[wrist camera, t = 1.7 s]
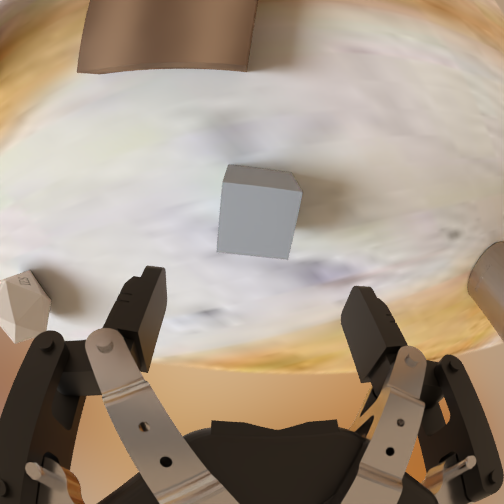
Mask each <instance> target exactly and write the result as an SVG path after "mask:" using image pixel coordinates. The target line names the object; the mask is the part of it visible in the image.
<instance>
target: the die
mask: <svg viewBox="0 0 504 504" xmlns="http://www.w3.org/2000/svg"><path fill="white" fill-rule="evenodd" d="M50 306H51V300H50V298H49V297H48V296H47V294H46V293H45V291H44V290H43V289H42V287H41V286H40V284H39V283H38V281H37V280H36V278H35V277H34V275H33V274H32V272H31V271H30V270H29V271H26V272H23V273H20V274H17V275H14V276H11V277H8V278H6V279H3V280H0V326H1V328H2V329H3V330H4V331H5V332H6V334H7V335H8V336H9V337H10V338H11V340H13V342H14V343H15V344H16V343H19V342H22V341H25V340H28V339H32V338H35V337H36V336H37V335H39V334H40V333H42V332H45V331H46V330H47V324H48V317H49V312H50Z"/></svg>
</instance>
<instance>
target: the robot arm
mask: <svg viewBox="0 0 504 504" xmlns="http://www.w3.org/2000/svg"><path fill="white" fill-rule="evenodd" d="M468 292H469V295H470V296H471V297H472V298H473V300H474V301H475V302H476V304H477V305H478V306H479V308H480V309H481V310H482V312H483V313H484V314H485V316H486V317H487V318H488V320H489V321H490V323H491V324H492V325H493V327H494V328H495V330H496V331H497V333H498V334H499V336H500V337H501V339H502V340H503V342H504V242H498V243H496V244H494V245H492V246H491V247H490V248H488V249H487V250H486V251H485V252H484V254H483V255H482V256H481V257H480V259H479V260H478V262H477V263H476V265H475V267H474V268H473V271H472V273H471V275H470V278H469V282H468ZM166 306H167V289H166V272H165V268H163V267H154V266H146V268H145V269H144V271H143V273H142V276H141V277H136V276H133V277H132V278H131V279H130V280H128V281H127V282H126V283H125V284H124V286H123V288H122V290H121V292H120V294H119V296H118V298H117V301H116V302H115V304H114V306H113V308H112V310H111V312H110V314H109V316H108V318H107V320H106V322H105V324H104V326H103V328H101V329H98V330H96V331H94V332H92V333H91V334H90V335H89V336H88V338H87V339H86V340H79V341H64V339H63V337H62V335H61V334H60V333H58V332H56V331H45V332H42V333H40V334H39V335H37V336H36V337H35V339H34V340H33V342H32V344H31V346H30V348H29V350H28V352H27V354H26V356H25V358H24V360H23V363H22V365H21V367H20V369H19V371H18V373H17V376H16V378H15V380H14V383H13V385H12V388H11V390H10V393H9V395H8V398H7V401H6V404H5V406H4V409H3V412H2V415H1V418H0V504H85V503H84V501H83V499H82V496H81V486H80V483H79V481H78V479H77V477H76V476H75V475H74V474H73V473H72V472H71V471H70V466H71V460H72V455H73V449H74V445H75V440H76V435H77V431H78V426H79V422H80V418H81V414H82V410H83V406H84V403H85V399H86V396H90V395H103V397H102V399H103V402H104V405H105V407H106V409H107V411H108V414H109V416H110V418H111V420H112V422H113V424H114V427H115V429H116V431H117V433H118V434H119V437H120V439H121V441H122V442H123V444H124V446H125V448H126V450H127V452H128V453H129V455H130V457H131V459H132V461H133V462H134V464H135V466H136V467H137V469H138V471H139V472H138V473H137V474H136V475H135V476H134V477H132V478H131V479H130V480H128V481H127V482H126V483H124V484H123V485H122V486H121V487H119V488H118V489H117V490H115V491H114V492H112V493H111V494H110V495H108V496H107V497H106V498H104V499H103V500H101V501H100V502H99V503H97V504H472V503H475V502H477V501H479V500H481V499H483V498H486V497H487V496H490V495H492V494H493V493H496V492H497V491H498V490H499V488H500V487H501V485H502V482H503V476H504V475H503V469H502V465H501V461H500V458H499V454H498V451H497V448H496V444H495V441H494V438H493V435H492V433H491V430H490V427H489V424H488V421H487V418H486V416H485V413H484V411H483V408H482V406H481V403H480V401H479V399H478V396H477V394H476V392H475V389H474V387H473V385H472V383H471V381H470V378H469V376H468V374H467V372H466V370H465V368H464V366H463V364H462V362H461V361H460V360H459V359H458V358H457V357H455V356H453V355H445V356H444V357H443V358H442V359H441V360H440V361H439V362H433V361H429V360H426V358H425V356H424V355H423V353H422V352H421V351H420V350H418V349H417V348H415V347H412V346H408V345H407V343H406V341H405V339H404V337H403V335H402V333H401V331H400V329H399V327H398V325H397V323H395V320H394V318H393V316H392V314H391V312H390V310H389V309H388V307H387V305H386V304H385V303H384V302H382V301H381V300H380V299H379V298H377V297H376V295H375V293H374V291H373V289H372V288H371V287H365V286H354V287H353V288H352V290H351V292H350V295H349V297H348V299H347V302H346V304H345V306H344V309H343V311H342V314H341V325H342V328H343V331H344V333H345V336H346V339H347V342H348V345H349V348H350V351H351V354H352V357H353V360H354V363H355V366H356V369H357V372H358V375H359V378H360V381H361V383H366V382H371V384H372V386H371V388H370V389H369V391H368V393H367V396H366V398H365V400H364V402H363V404H362V406H361V408H360V411H359V413H358V415H357V417H356V419H355V421H354V422H353V424H352V425H351V427H350V428H349V429H344V428H340V427H338V424H337V420H326V421H313V422H306V423H303V424H300V425H296V426H293V427H289V428H285V429H281V430H274V429H269V428H265V427H260V426H256V425H252V424H248V423H244V422H225V421H212V423H211V428H205V429H201V430H197V431H194V432H191V433H189V434H187V435H184V436H182V435H181V433H180V432H179V431H178V429H177V428H176V426H175V425H174V423H173V422H172V420H171V419H170V417H169V415H168V414H167V413H166V411H165V409H164V408H163V406H162V404H161V403H160V401H159V399H158V398H157V396H156V395H155V393H154V391H153V389H152V388H151V386H150V384H149V383H148V382H147V381H145V380H144V378H143V376H142V374H141V372H146V373H148V371H149V368H150V364H151V360H152V356H153V353H154V349H155V345H156V342H157V338H158V335H159V331H160V328H161V325H162V321H163V318H164V314H165V311H166ZM140 371H141V372H140ZM443 397H444V398H445V400H446V403H447V405H448V408H449V411H450V420H449V422H448V423H447V424H445V420H444V417H443V414H442V411H441V409H440V406H439V403H438V402H439V401H440V400H441V399H442V398H443ZM417 435H418V438H419V443H420V446H421V450H422V455H423V458H424V463H425V468H426V472H427V474H426V478H425V480H424V481H423V482H422V483H419V482H418V481H417V480H415V479H414V478H413V477H411V476H410V475H409V474H408V473H406V472H405V470H406V468H407V465H408V462H409V459H410V456H411V454H412V451H413V447H414V444H415V441H416V438H417Z"/></svg>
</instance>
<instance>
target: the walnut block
mask: <svg viewBox="0 0 504 504" xmlns="http://www.w3.org/2000/svg"><path fill="white" fill-rule="evenodd" d="M257 4H258V0H90V3H89V7H88V11H87V15H86V19H85V24H84V29H83V34H82V40H81V45H80V52H79V59H78V67H77V73H90V74H106V73H114V72H123V71H134V70H148V69H216V70H230V71H241V72H247V66H248V60H249V53H250V47H251V40H252V34H253V28H254V21H255V15H256V10H257Z"/></svg>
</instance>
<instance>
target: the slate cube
mask: <svg viewBox="0 0 504 504" xmlns="http://www.w3.org/2000/svg"><path fill="white" fill-rule="evenodd" d="M302 194H303V192H302V190H301V188H300V187H299V185H298V183H297V181H296V180H295V178H294V176H293V175H292V173H290V172H283V171H276V170H269V169H261V168H253V167H245V166H236V165H228V167H227V170H226V173H225V176H224V179H223V183H222V193H221V204H220V215H219V227H218V240H217V252H219V253H229V254H238V255H248V256H258V257H267V258H277V259H286V260H288V258H289V253H290V249H291V244H292V240H293V236H294V231H295V226H296V222H297V217H298V213H299V208H300V203H301V198H302Z"/></svg>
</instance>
